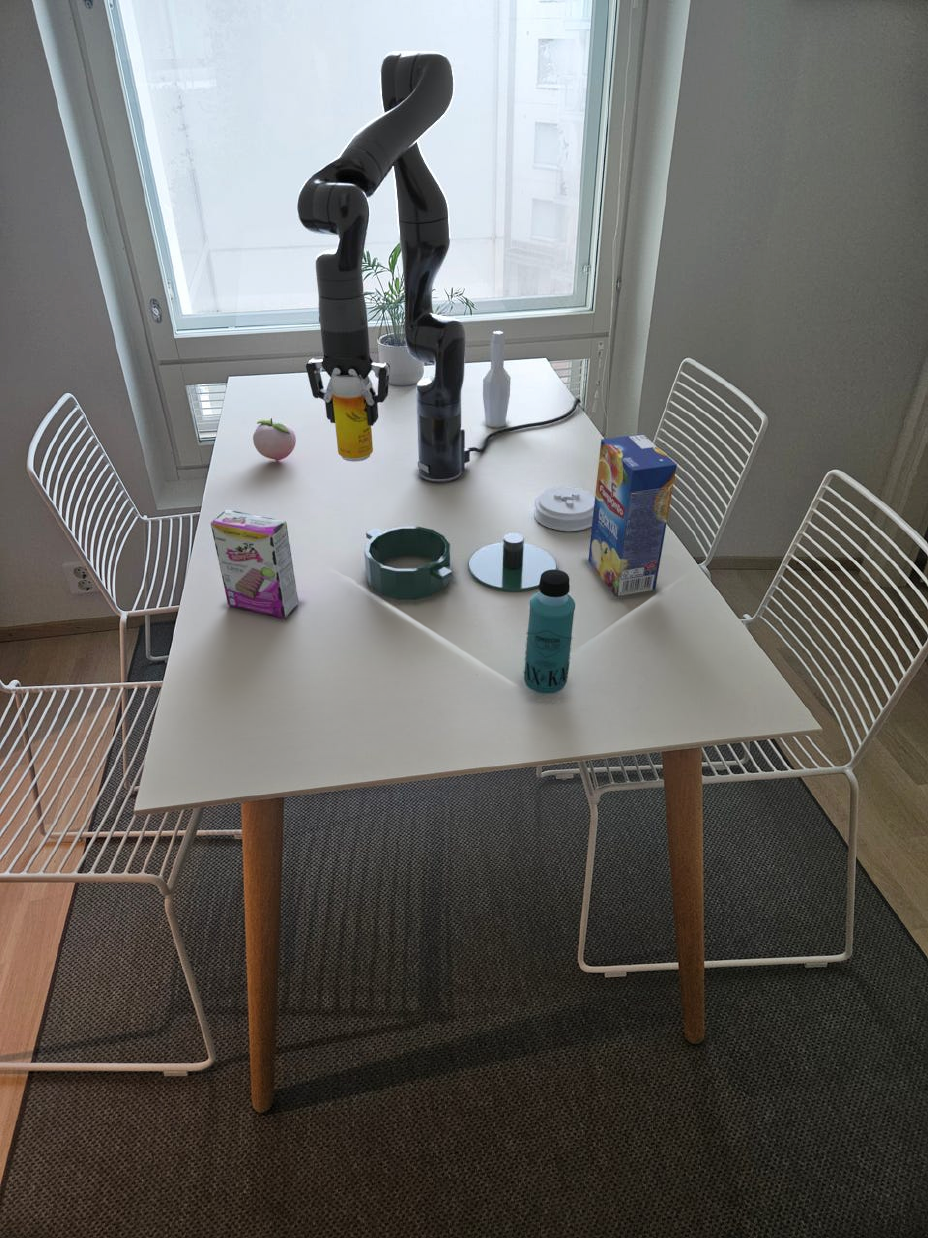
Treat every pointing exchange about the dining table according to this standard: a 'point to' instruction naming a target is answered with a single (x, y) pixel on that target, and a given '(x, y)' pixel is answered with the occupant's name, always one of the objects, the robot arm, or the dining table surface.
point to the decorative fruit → (274, 439)
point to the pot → (407, 580)
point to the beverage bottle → (549, 634)
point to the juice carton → (630, 513)
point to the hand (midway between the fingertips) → (352, 422)
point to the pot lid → (510, 564)
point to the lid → (565, 508)
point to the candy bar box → (255, 562)
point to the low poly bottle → (496, 384)
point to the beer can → (351, 418)
